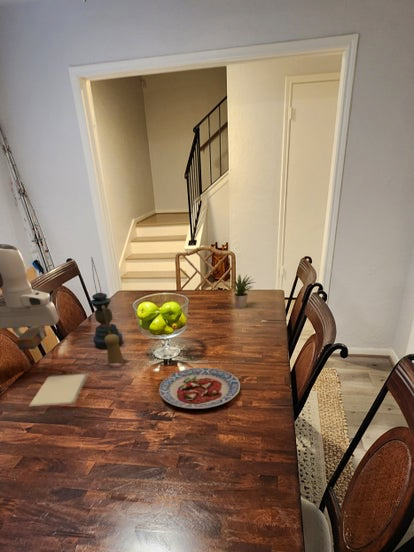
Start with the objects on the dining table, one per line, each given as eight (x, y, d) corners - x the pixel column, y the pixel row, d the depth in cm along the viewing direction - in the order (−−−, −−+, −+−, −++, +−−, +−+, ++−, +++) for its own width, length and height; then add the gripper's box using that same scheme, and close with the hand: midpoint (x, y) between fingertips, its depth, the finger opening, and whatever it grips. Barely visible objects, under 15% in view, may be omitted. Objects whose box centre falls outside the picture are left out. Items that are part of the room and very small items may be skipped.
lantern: (127, 346, 153) (112, 257, 135) (98, 353, 149) (79, 262, 131) (118, 335, 164) (103, 252, 146) (91, 341, 160) (72, 256, 142)
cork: (116, 358, 144) (111, 331, 138) (127, 361, 141) (122, 334, 135) (104, 363, 140) (99, 336, 134) (115, 367, 137) (110, 339, 131)
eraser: (19, 350, 122) (16, 340, 120) (32, 336, 132) (29, 327, 130) (34, 349, 122) (31, 339, 120) (46, 335, 132) (43, 326, 130)
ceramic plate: (249, 408, 110) (249, 399, 108) (162, 419, 107) (161, 410, 105) (230, 369, 131) (230, 362, 130) (157, 378, 128) (156, 370, 127)
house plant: (246, 313, 183) (246, 279, 174) (222, 309, 189) (221, 276, 181) (258, 305, 193) (260, 272, 184) (235, 301, 199) (235, 270, 191)
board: (29, 409, 115) (28, 406, 114) (49, 378, 132) (48, 375, 131) (75, 406, 115) (74, 403, 114) (89, 376, 132) (88, 373, 131)
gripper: (-18, 303, 116) (-3, 344, 123) (47, 299, 116) (59, 340, 124) (-9, 297, 121) (5, 336, 129) (54, 293, 122) (64, 333, 129)
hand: (32, 338), depth 126 cm, fingers closed on eraser, 5 cm apart
